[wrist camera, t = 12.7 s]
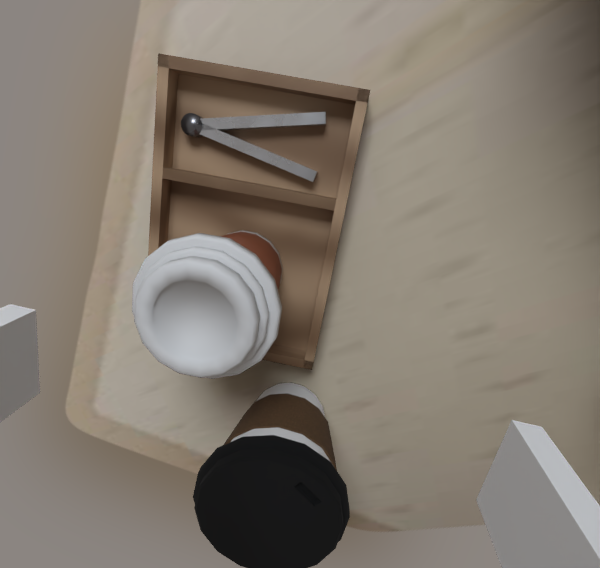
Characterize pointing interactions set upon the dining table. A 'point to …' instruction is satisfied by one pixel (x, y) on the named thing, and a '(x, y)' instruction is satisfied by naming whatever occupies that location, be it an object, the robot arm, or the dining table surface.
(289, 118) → the steel tongs
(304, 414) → the coffee cup
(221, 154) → the walnut caddy
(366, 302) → the dining table surface
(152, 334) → the coffee cup
